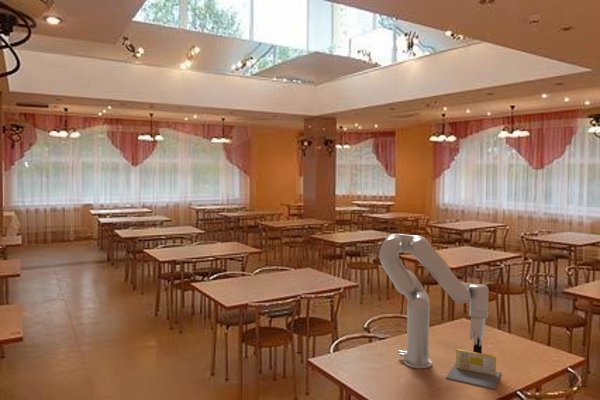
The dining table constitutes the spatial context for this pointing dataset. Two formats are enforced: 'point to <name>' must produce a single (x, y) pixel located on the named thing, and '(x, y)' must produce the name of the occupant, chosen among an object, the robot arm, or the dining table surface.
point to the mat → (473, 378)
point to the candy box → (476, 362)
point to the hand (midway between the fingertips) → (477, 354)
